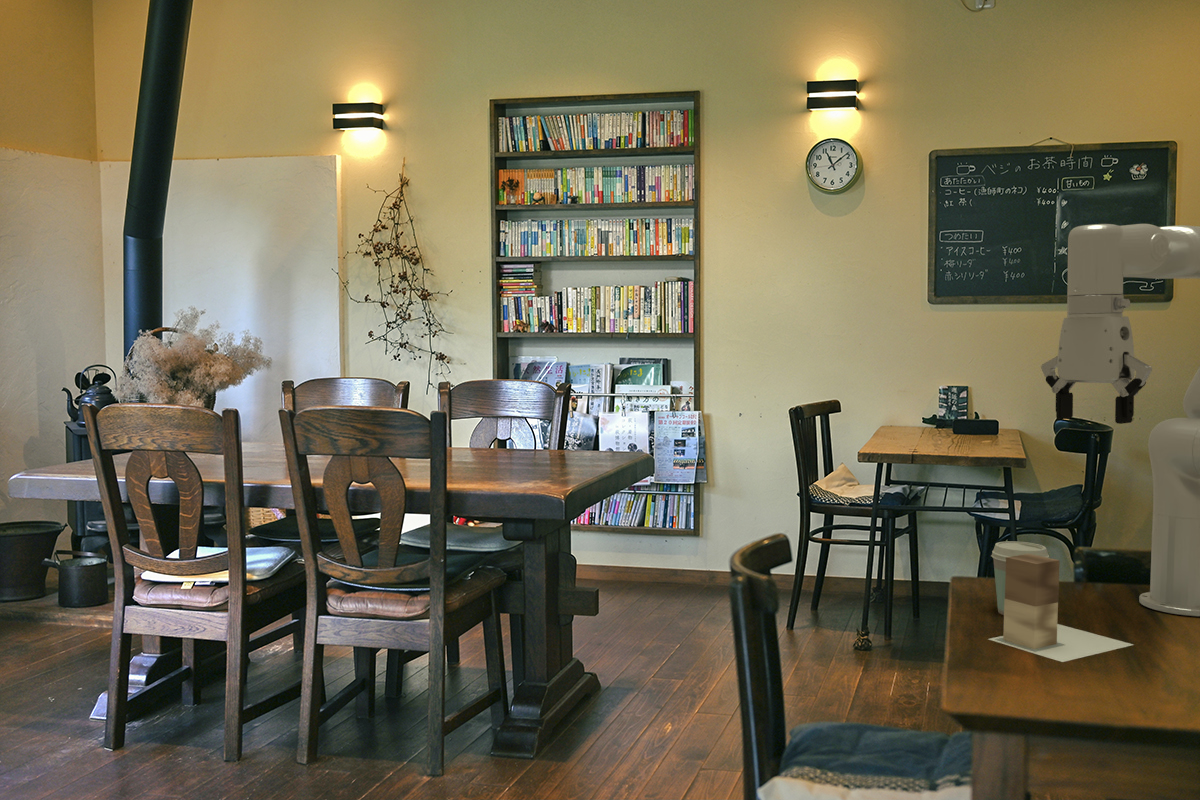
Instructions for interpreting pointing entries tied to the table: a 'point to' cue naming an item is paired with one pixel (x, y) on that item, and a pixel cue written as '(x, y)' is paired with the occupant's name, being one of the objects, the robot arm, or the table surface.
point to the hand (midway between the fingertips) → (1093, 420)
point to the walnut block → (1032, 579)
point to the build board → (1071, 644)
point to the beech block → (1030, 624)
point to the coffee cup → (999, 559)
